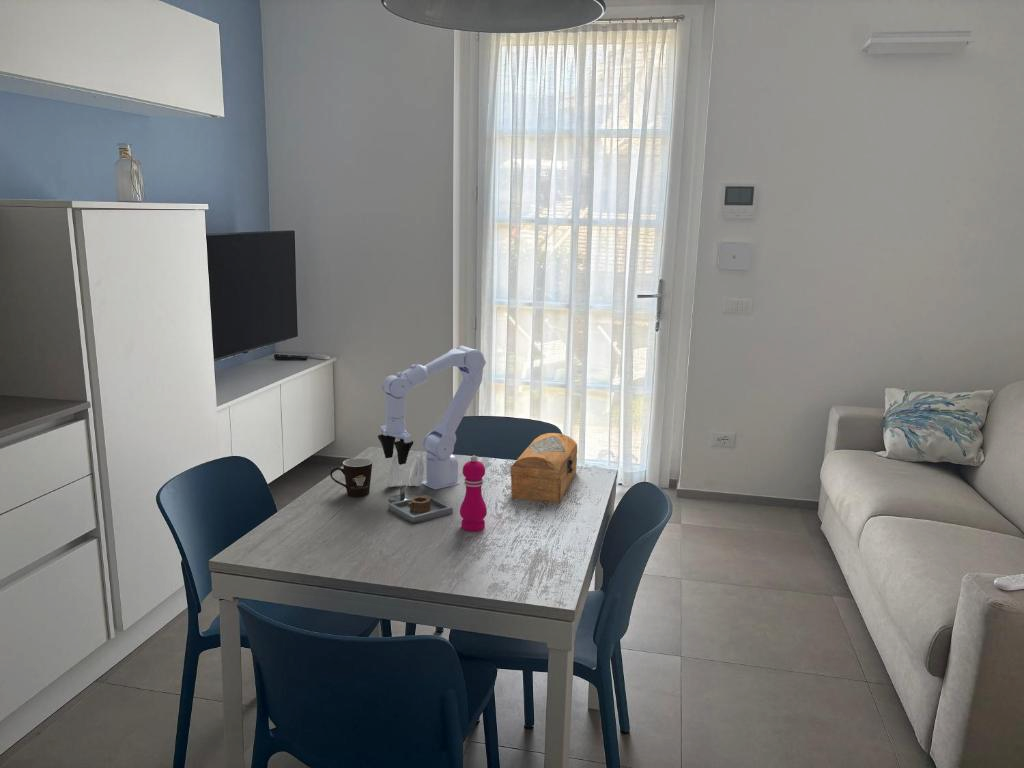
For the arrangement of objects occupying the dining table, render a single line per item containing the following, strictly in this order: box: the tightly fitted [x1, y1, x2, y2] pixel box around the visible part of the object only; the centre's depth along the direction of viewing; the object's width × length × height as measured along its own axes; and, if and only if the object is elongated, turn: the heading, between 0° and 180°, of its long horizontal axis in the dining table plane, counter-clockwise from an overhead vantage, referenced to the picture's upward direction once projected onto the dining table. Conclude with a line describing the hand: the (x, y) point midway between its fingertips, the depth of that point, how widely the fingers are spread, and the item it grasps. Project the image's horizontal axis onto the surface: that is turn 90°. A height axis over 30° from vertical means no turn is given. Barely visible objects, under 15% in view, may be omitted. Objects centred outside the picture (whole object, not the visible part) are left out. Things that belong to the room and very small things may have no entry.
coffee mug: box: [329, 457, 373, 498], centre depth 234 cm, size 12×9×10 cm
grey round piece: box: [388, 483, 416, 503], centre depth 230 cm, size 8×8×5 cm
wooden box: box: [510, 432, 578, 504], centre depth 245 cm, size 30×16×14 cm, turn 165°
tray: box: [387, 494, 454, 525], centre depth 222 cm, size 13×13×2 cm
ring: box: [408, 495, 433, 513], centre depth 222 cm, size 5×8×3 cm
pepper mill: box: [459, 455, 488, 532], centre depth 210 cm, size 7×7×20 cm
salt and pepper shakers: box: [386, 452, 425, 488], centre depth 241 cm, size 12×4×11 cm, turn 115°
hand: (395, 460), depth 235 cm, fingers open, 7 cm apart
